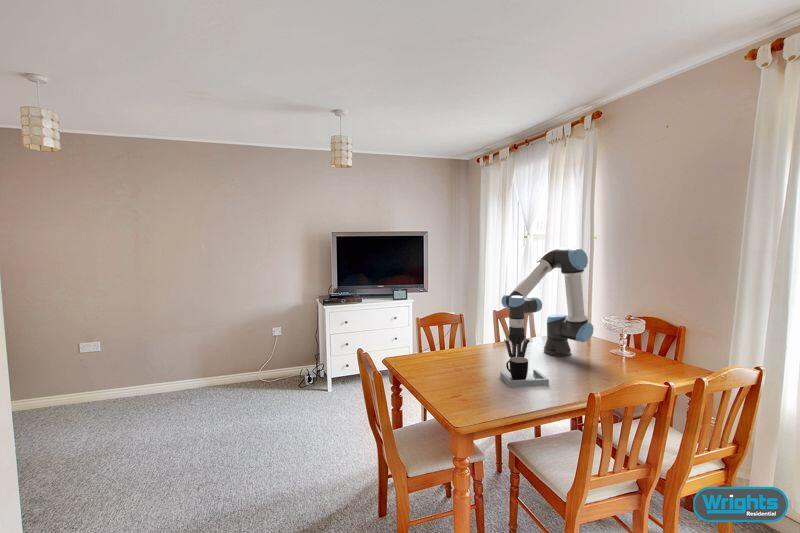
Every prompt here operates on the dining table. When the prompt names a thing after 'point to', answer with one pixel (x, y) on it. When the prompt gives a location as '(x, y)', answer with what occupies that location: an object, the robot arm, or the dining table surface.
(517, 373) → the mug
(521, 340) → the robot arm
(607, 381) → the dining table surface
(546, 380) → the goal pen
